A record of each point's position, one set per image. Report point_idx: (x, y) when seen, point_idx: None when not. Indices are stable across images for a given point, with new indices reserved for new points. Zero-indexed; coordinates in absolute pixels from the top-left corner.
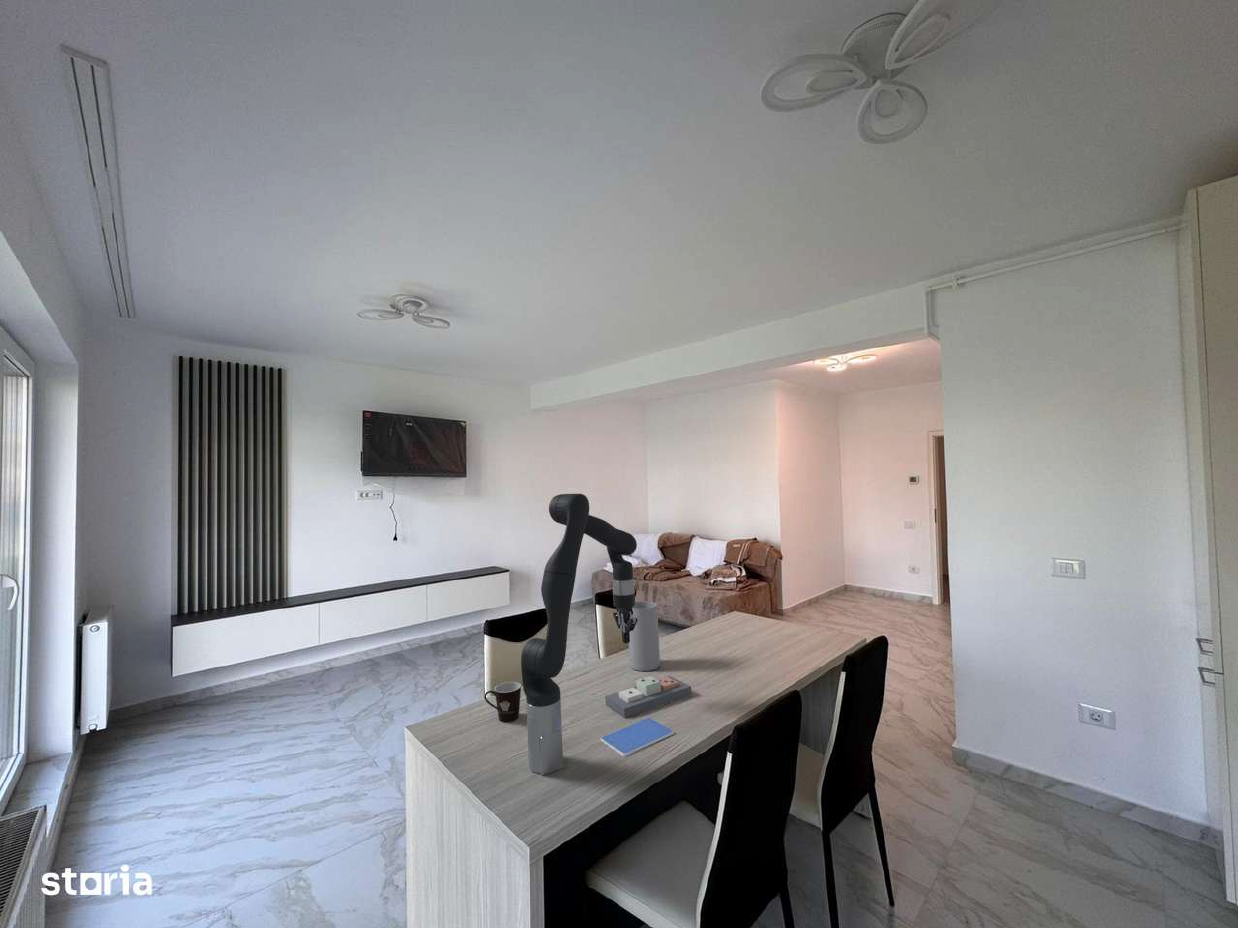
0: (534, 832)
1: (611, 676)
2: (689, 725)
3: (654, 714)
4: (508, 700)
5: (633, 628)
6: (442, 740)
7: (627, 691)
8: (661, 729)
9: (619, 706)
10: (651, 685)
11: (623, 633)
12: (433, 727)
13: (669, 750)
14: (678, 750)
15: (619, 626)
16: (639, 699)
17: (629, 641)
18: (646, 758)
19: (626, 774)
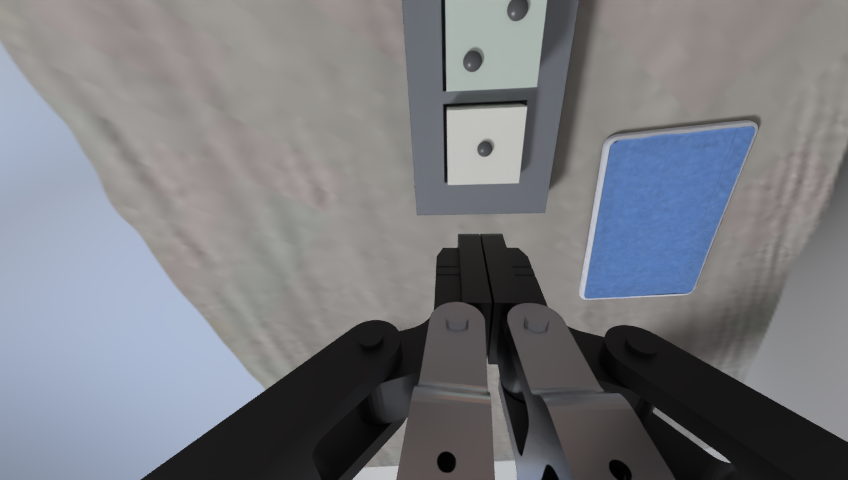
0: (701, 441)
1: (175, 54)
2: (780, 29)
3: (596, 99)
4: None
5: (707, 375)
6: (383, 453)
7: (465, 152)
8: (707, 153)
9: (513, 212)
10: (540, 48)
11: (496, 354)
12: None
13: (790, 194)
14: (820, 174)
15: (404, 419)
16: (526, 127)
17: (502, 239)
18: (747, 259)
19: (740, 316)
